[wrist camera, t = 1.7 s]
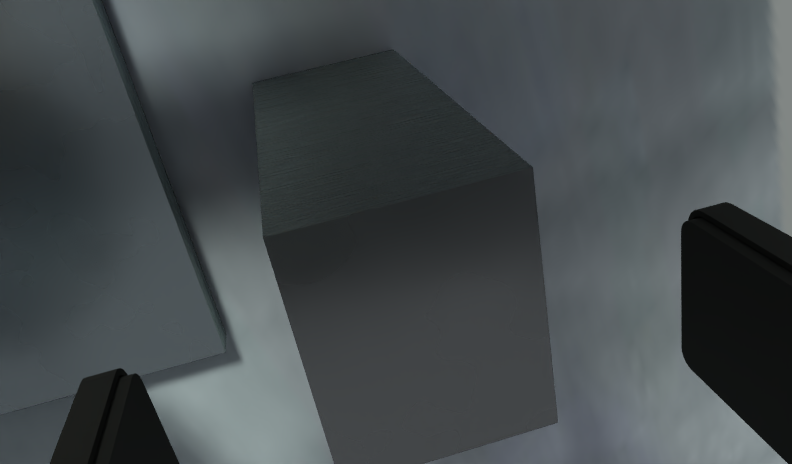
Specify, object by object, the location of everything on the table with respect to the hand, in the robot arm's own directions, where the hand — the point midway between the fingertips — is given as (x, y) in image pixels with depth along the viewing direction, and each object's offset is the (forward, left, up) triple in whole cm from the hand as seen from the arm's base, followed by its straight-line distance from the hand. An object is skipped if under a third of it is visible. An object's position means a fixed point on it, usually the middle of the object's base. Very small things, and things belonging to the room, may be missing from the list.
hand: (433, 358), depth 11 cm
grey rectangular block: (-1, 0, -10) cm, 10 cm away
